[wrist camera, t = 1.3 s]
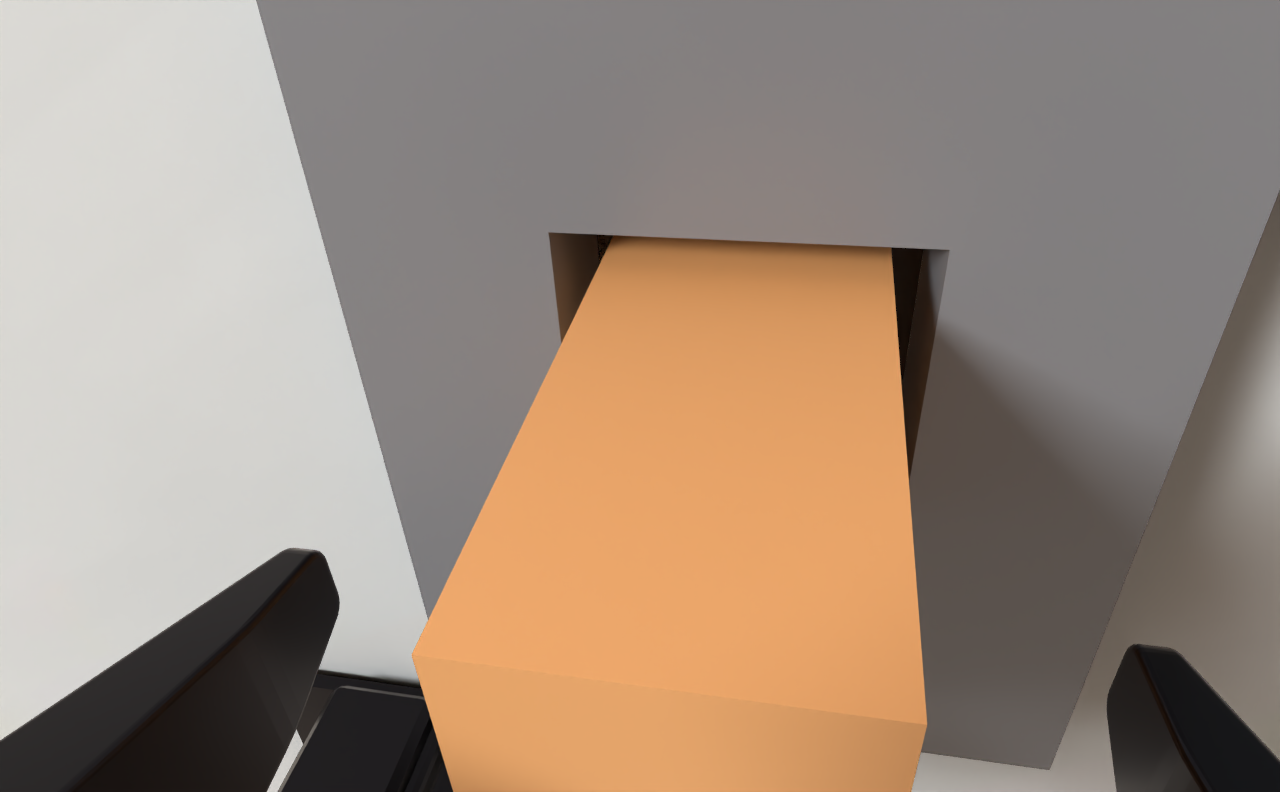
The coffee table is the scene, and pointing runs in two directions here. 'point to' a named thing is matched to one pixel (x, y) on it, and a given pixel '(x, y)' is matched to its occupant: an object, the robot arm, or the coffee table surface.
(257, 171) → the coffee table surface
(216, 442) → the coffee table surface
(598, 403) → the orange block
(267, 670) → the robot arm
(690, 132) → the holder
